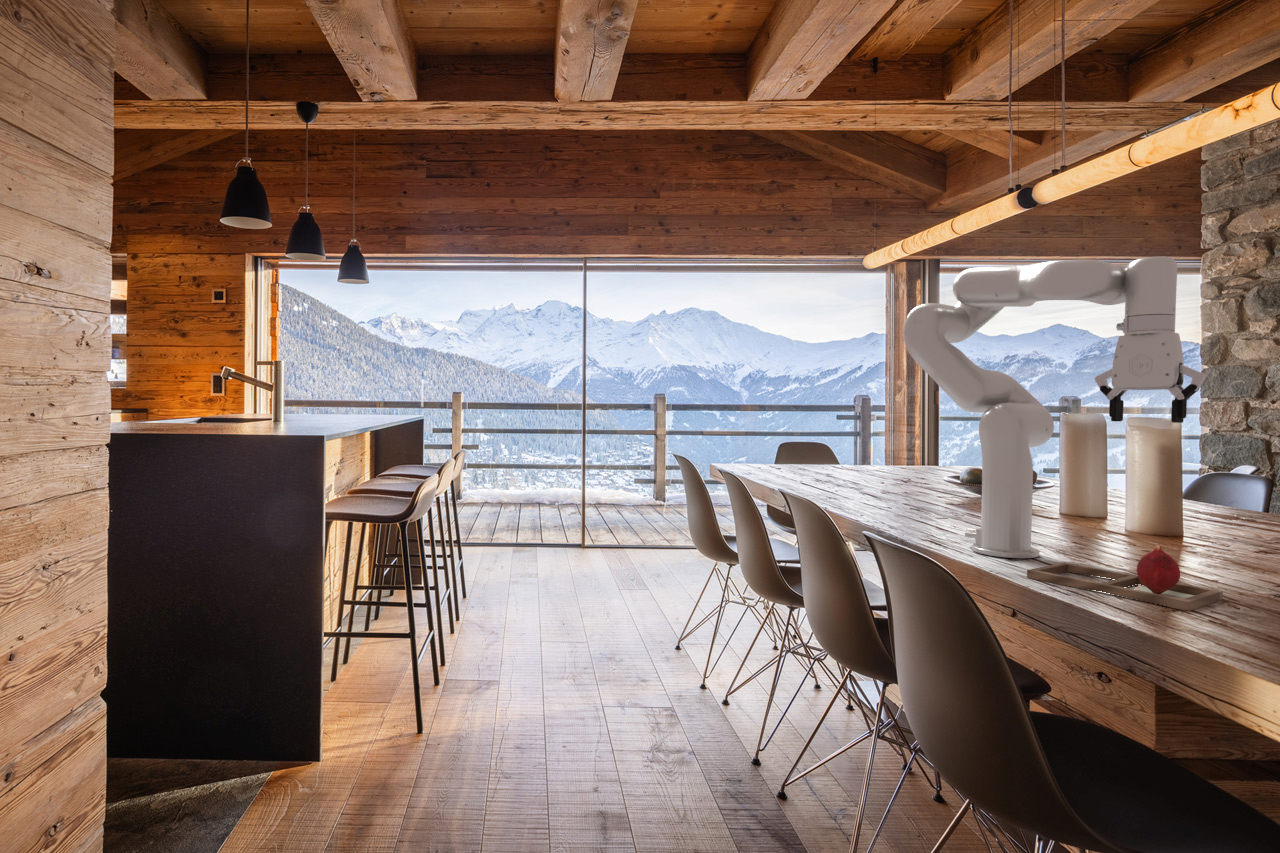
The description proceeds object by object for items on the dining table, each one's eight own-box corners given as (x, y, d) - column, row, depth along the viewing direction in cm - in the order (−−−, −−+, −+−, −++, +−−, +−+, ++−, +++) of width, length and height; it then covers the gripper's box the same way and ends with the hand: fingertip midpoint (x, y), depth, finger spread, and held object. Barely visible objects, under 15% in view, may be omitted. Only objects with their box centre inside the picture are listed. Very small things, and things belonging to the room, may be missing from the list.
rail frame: (1026, 577, 130) (1027, 569, 130) (1063, 569, 137) (1064, 562, 137) (1188, 611, 109) (1189, 601, 109) (1222, 599, 116) (1222, 591, 116)
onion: (1186, 600, 115) (1188, 550, 115) (1146, 597, 116) (1148, 548, 116) (1167, 591, 121) (1169, 543, 120) (1129, 588, 122) (1131, 541, 122)
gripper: (1088, 329, 136) (1085, 420, 136) (1197, 321, 121) (1194, 423, 122) (1107, 332, 140) (1104, 420, 140) (1215, 324, 126) (1212, 423, 126)
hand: (1146, 421), depth 131 cm, fingers open, 9 cm apart
